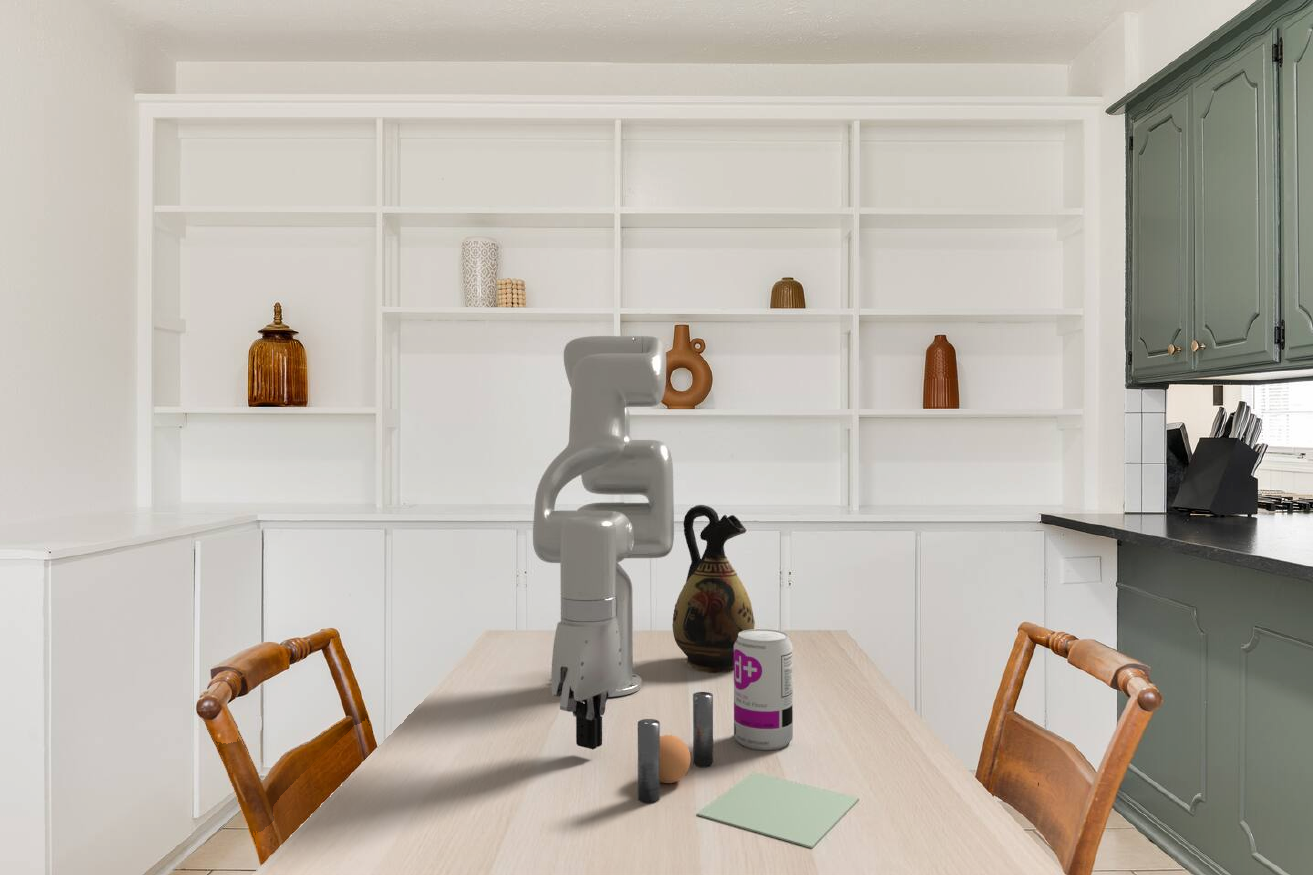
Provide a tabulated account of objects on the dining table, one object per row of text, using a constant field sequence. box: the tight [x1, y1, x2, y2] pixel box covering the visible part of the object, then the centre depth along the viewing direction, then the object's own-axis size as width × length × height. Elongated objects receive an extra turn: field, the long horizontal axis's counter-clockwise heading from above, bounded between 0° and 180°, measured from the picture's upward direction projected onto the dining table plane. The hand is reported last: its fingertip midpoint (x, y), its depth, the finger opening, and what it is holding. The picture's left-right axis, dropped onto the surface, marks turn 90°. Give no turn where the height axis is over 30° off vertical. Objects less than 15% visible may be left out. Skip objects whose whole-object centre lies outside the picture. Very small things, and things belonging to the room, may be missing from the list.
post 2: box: [692, 691, 714, 768], centre depth 110 cm, size 3×3×9 cm
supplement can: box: [733, 628, 794, 751], centre depth 118 cm, size 8×8×15 cm
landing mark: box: [696, 771, 860, 849], centre depth 97 cm, size 14×14×1 cm
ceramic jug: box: [672, 504, 756, 674], centre depth 157 cm, size 17×15×30 cm
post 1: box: [637, 718, 661, 804], centre depth 99 cm, size 3×3×9 cm
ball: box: [660, 734, 691, 784], centre depth 104 cm, size 6×6×6 cm
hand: (589, 745), depth 112 cm, fingers closed
